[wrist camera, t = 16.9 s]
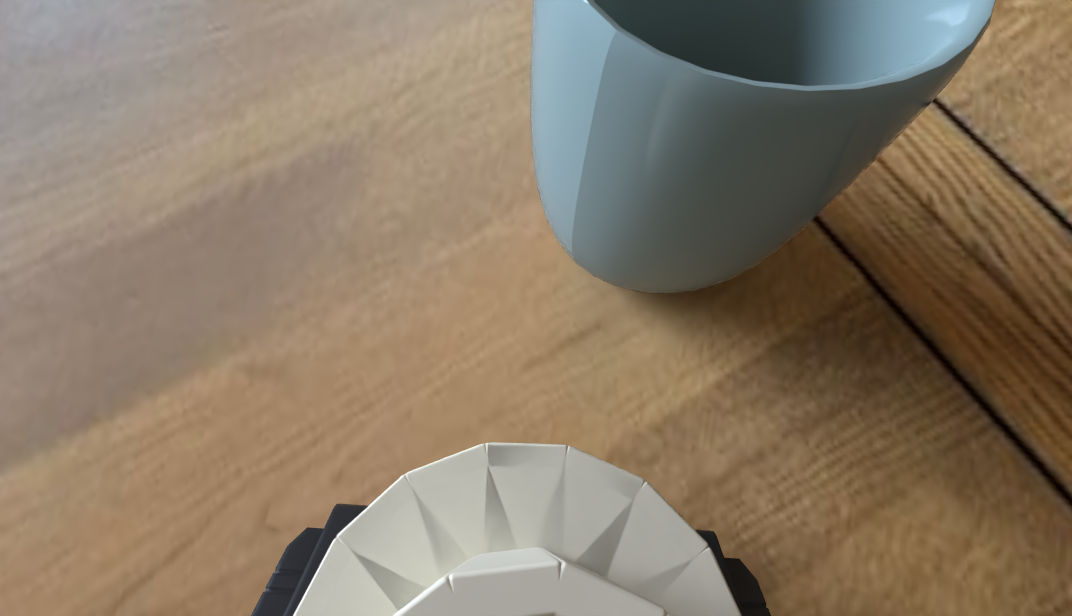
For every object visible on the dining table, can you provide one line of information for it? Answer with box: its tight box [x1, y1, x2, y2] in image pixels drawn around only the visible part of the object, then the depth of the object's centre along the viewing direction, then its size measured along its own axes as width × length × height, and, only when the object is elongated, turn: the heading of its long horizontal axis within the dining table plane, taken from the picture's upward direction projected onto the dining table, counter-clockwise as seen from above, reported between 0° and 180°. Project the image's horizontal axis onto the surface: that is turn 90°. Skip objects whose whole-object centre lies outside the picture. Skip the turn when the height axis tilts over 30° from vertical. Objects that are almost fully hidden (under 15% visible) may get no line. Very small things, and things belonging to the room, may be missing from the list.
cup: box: [530, 0, 996, 294], centre depth 18 cm, size 10×10×13 cm
